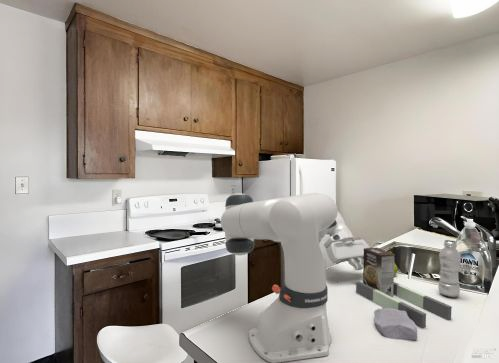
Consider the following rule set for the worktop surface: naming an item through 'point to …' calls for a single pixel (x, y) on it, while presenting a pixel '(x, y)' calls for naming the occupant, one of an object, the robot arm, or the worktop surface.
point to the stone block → (395, 324)
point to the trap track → (408, 295)
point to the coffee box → (379, 270)
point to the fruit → (394, 266)
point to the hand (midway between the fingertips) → (359, 269)
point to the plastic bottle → (449, 269)
